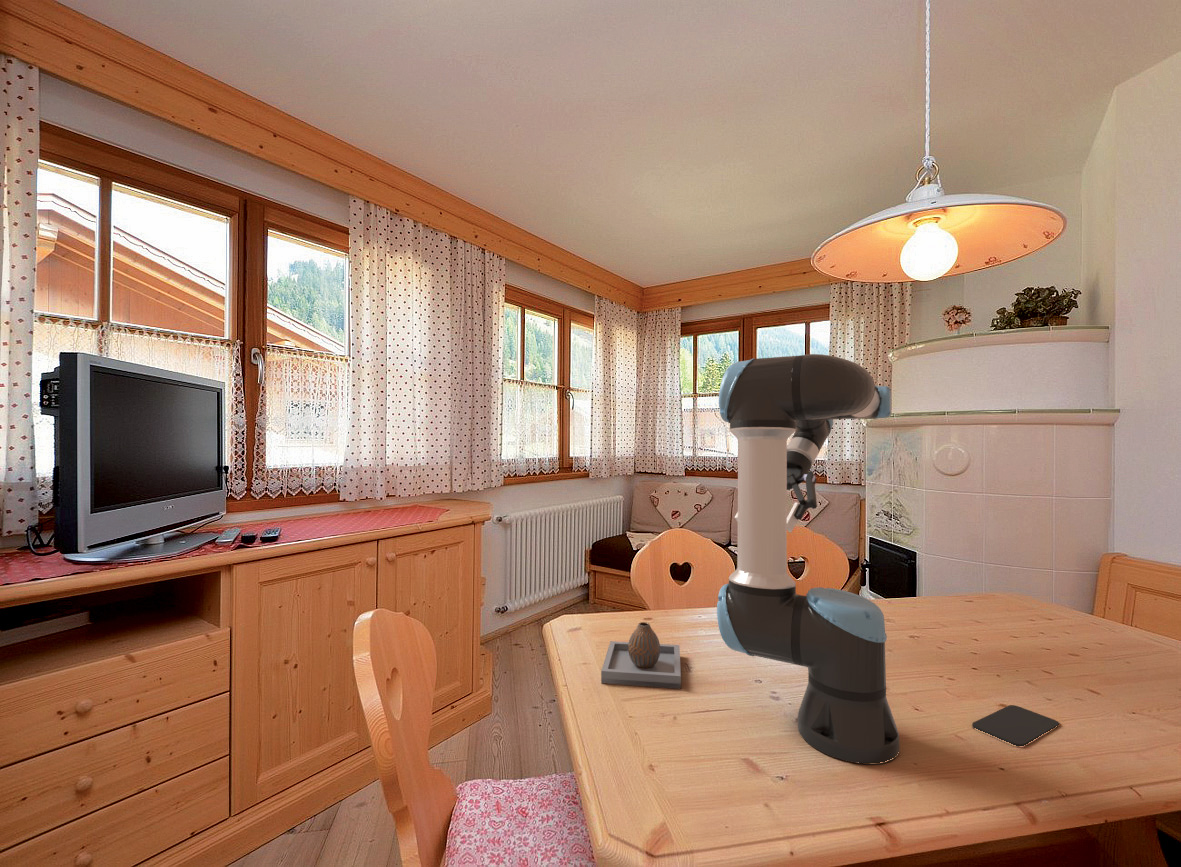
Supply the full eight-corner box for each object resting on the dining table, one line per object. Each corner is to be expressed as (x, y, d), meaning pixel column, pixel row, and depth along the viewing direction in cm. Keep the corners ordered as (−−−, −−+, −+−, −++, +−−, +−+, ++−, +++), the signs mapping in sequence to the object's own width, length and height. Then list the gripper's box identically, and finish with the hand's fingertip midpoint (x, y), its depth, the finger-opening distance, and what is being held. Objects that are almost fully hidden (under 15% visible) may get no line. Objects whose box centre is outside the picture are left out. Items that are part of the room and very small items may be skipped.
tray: (680, 688, 103) (680, 676, 103) (601, 683, 105) (601, 671, 105) (679, 656, 118) (679, 645, 119) (610, 651, 121) (610, 641, 121)
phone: (1062, 722, 89) (1021, 746, 82) (1062, 727, 89) (1021, 751, 82) (1011, 703, 96) (968, 723, 89) (1011, 708, 96) (969, 728, 89)
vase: (666, 664, 112) (666, 623, 112) (647, 674, 107) (647, 632, 107) (641, 655, 117) (641, 616, 117) (621, 664, 112) (621, 624, 112)
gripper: (851, 471, 122) (818, 542, 113) (761, 467, 142) (726, 527, 133) (839, 449, 119) (804, 520, 110) (749, 448, 139) (712, 508, 130)
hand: (761, 524), depth 121 cm, fingers open, 13 cm apart
